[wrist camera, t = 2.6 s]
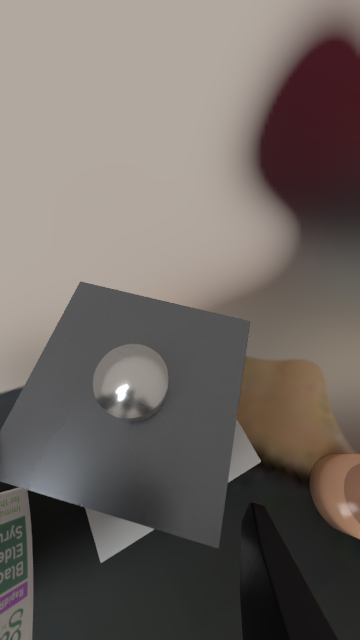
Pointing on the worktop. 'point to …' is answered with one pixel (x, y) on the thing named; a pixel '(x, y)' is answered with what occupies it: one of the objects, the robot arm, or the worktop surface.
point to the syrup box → (16, 566)
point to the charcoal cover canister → (132, 412)
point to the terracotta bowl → (338, 491)
